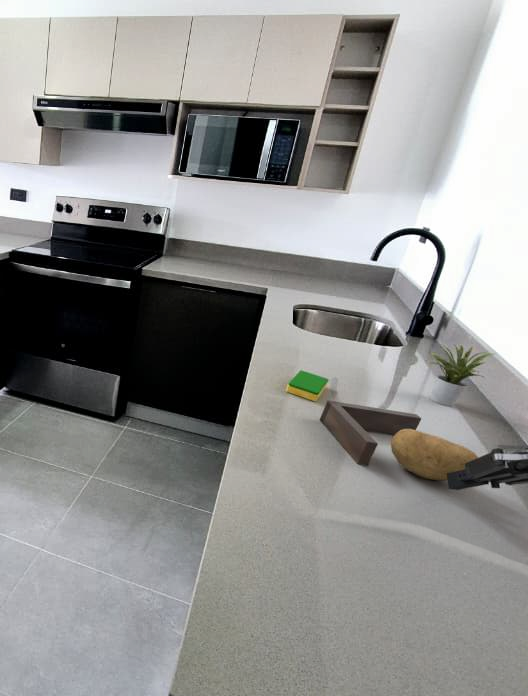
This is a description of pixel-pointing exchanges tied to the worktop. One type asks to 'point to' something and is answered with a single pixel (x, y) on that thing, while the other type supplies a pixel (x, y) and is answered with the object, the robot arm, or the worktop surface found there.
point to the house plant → (454, 376)
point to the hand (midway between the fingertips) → (451, 481)
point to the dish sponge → (307, 385)
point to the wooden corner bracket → (363, 426)
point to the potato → (429, 454)
